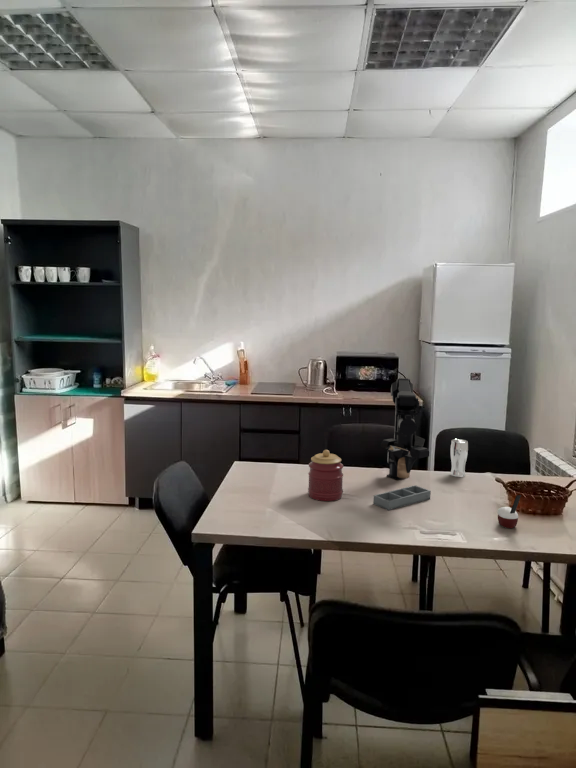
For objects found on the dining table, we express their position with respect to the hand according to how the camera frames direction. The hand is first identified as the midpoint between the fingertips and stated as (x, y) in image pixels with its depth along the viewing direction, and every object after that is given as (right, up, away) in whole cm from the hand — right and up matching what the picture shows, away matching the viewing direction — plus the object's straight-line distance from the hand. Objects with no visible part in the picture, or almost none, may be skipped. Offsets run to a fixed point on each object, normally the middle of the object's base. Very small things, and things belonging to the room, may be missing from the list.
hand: (403, 471), depth 197 cm
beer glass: (+30, -7, +34) cm, 47 cm away
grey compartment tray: (0, -11, +2) cm, 11 cm away
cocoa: (+30, -15, -20) cm, 39 cm away
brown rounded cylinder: (0, -2, 0) cm, 2 cm away
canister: (-28, -11, +7) cm, 31 cm away
